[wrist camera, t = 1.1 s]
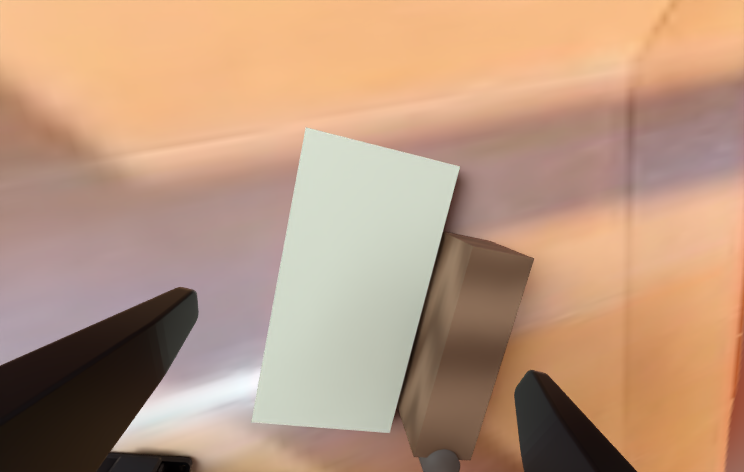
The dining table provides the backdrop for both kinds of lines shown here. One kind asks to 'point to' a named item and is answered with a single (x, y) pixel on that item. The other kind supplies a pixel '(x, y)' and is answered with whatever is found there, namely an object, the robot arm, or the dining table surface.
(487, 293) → the folding leg
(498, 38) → the dining table surface
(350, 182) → the pale green flat block
